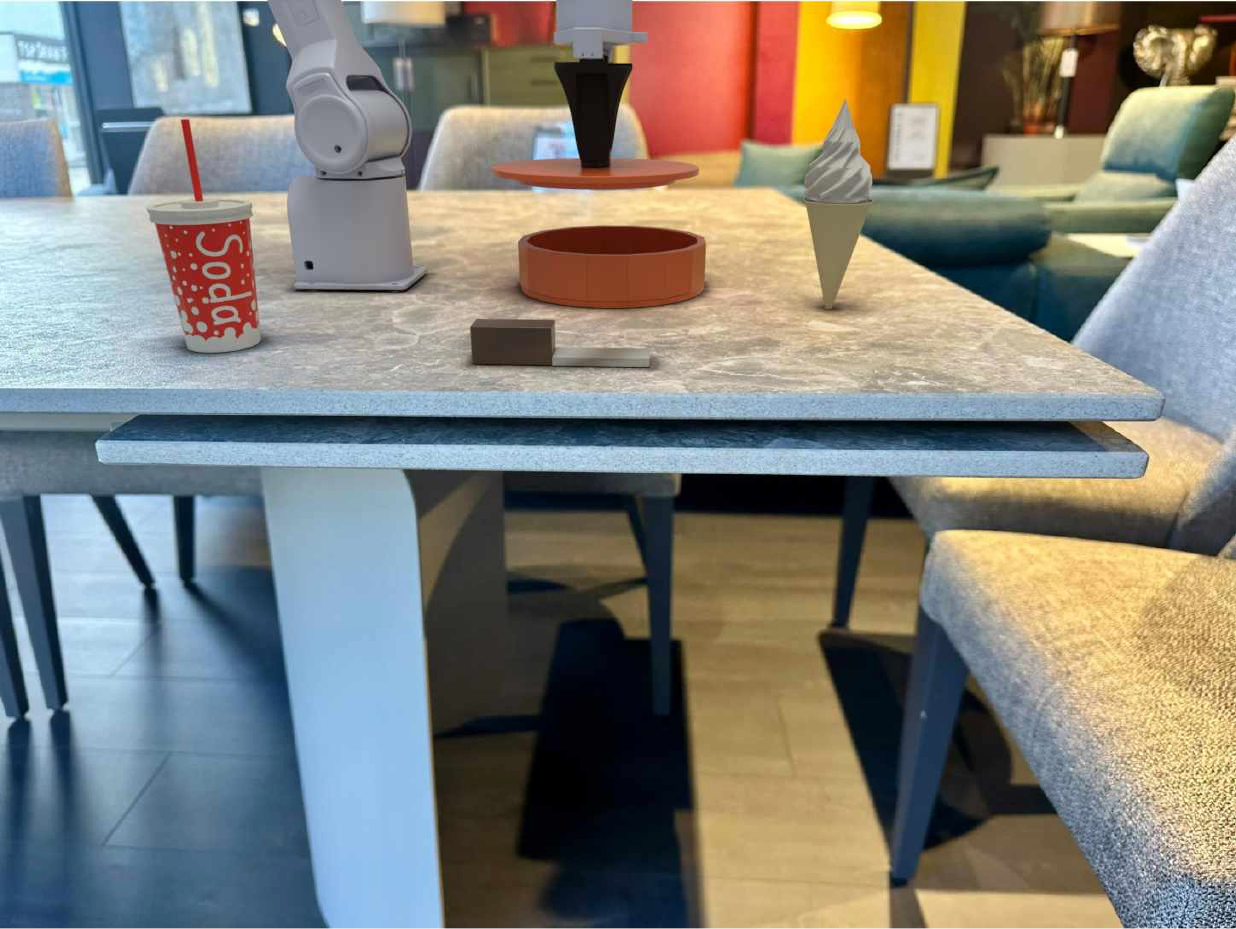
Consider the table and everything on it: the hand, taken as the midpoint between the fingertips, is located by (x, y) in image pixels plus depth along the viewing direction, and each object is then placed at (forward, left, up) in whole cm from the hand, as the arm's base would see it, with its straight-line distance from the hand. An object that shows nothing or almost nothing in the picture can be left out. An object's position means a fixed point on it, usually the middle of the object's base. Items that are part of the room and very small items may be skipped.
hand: (595, 161), depth 72 cm
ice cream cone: (+18, -6, -10) cm, 22 cm away
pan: (+1, +1, -10) cm, 10 cm away
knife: (-1, -21, -10) cm, 23 cm away
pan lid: (0, 0, -1) cm, 1 cm away
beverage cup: (-24, -18, -10) cm, 31 cm away
